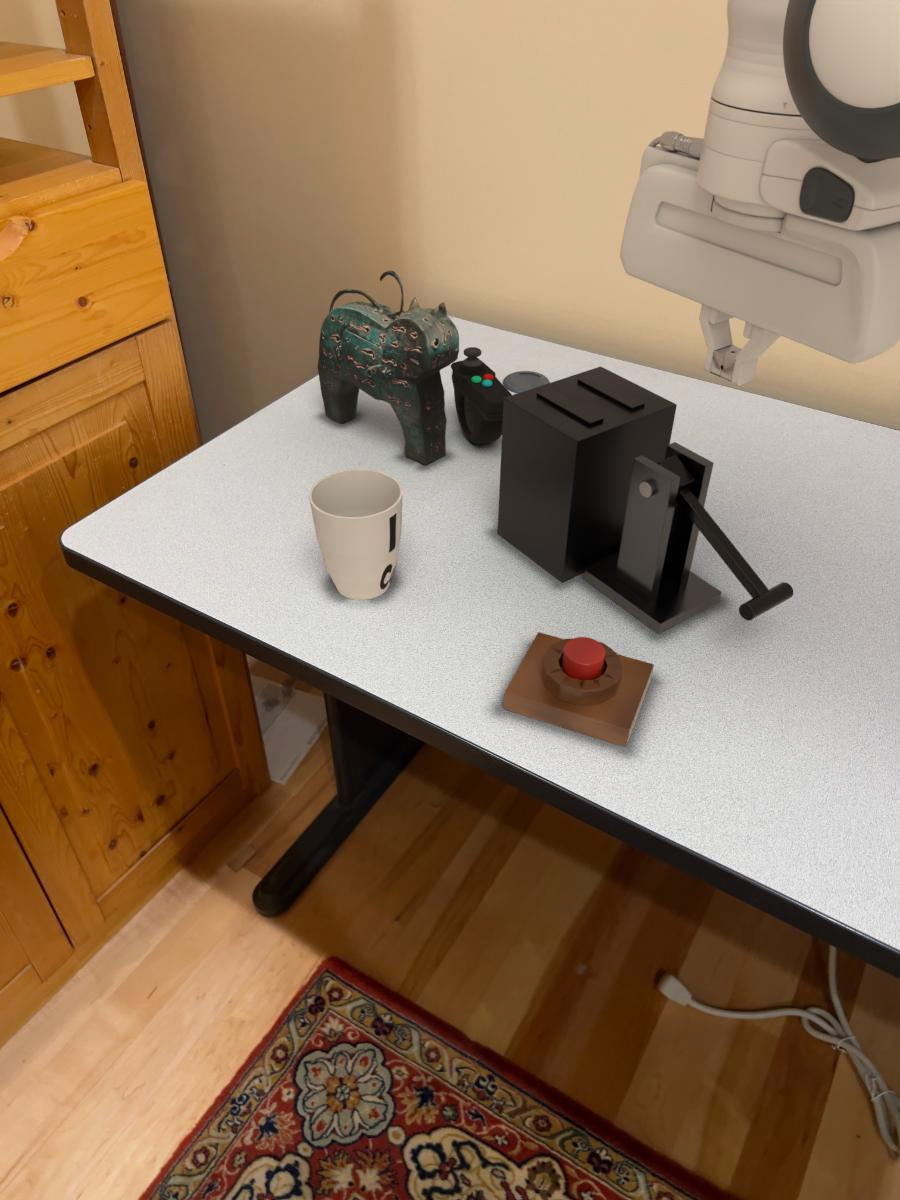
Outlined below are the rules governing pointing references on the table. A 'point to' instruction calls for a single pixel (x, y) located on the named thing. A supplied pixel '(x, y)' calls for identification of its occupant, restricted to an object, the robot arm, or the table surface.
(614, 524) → the toaster
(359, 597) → the cup
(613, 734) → the control block
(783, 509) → the table surface
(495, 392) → the controller
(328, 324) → the ceramic cat
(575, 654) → the button
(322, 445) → the table surface
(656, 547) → the toaster bracket
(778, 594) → the toaster lever
